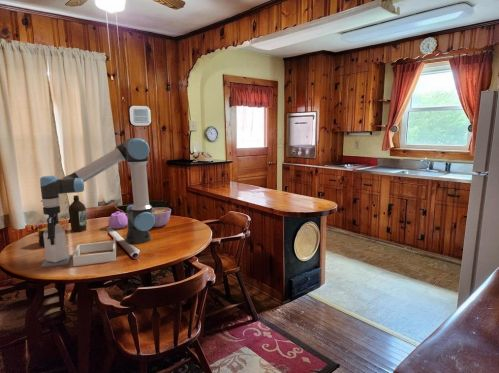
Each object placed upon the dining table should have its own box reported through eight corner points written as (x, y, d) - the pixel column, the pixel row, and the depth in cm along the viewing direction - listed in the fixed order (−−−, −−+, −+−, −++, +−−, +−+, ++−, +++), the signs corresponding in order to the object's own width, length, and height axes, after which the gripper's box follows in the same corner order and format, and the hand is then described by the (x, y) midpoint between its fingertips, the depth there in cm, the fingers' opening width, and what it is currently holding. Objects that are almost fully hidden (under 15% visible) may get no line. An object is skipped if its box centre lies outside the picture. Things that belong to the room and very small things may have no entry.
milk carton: (67, 258, 171) (64, 223, 168) (54, 263, 165) (51, 227, 162) (59, 256, 174) (55, 222, 171) (46, 260, 168) (42, 225, 165)
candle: (52, 247, 192) (51, 231, 190) (38, 246, 194) (36, 230, 192) (65, 241, 202) (64, 226, 200) (52, 240, 204) (50, 225, 202)
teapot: (110, 224, 239) (109, 209, 238) (129, 223, 243) (128, 208, 241) (107, 232, 221) (105, 216, 219) (127, 230, 224) (126, 214, 223)
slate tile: (71, 256, 177) (71, 254, 177) (68, 264, 166) (68, 262, 166) (46, 259, 173) (46, 257, 173) (41, 267, 162) (41, 266, 162)
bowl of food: (142, 223, 242) (141, 208, 240) (168, 220, 250) (168, 206, 248) (145, 230, 224) (144, 214, 222) (174, 227, 232) (173, 211, 231)
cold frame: (116, 248, 189) (115, 237, 188) (115, 260, 171) (114, 248, 170) (78, 253, 182) (77, 241, 181) (73, 266, 164) (72, 253, 163)
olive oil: (66, 232, 221) (63, 196, 217) (77, 227, 231) (74, 194, 227) (80, 233, 219) (77, 197, 215) (90, 228, 230) (87, 194, 226)
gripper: (47, 202, 174) (51, 241, 177) (37, 211, 153) (42, 255, 157) (63, 201, 177) (67, 239, 180) (55, 210, 156) (60, 253, 159)
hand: (55, 247), depth 168 cm, fingers open, 10 cm apart
